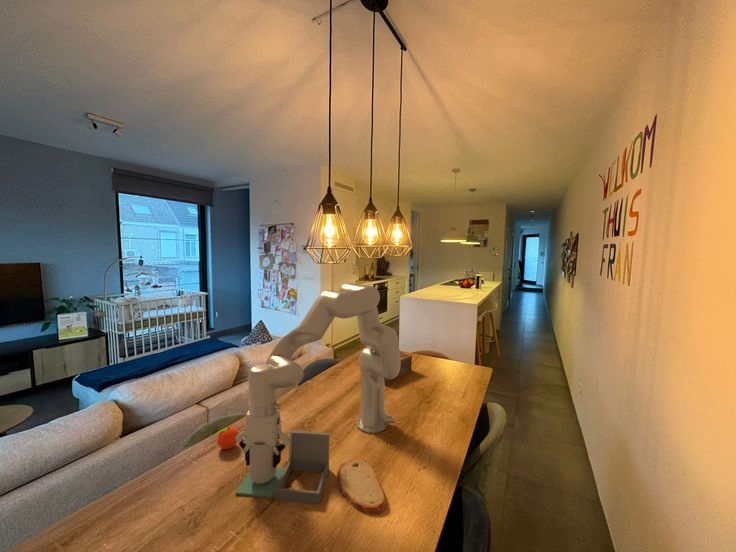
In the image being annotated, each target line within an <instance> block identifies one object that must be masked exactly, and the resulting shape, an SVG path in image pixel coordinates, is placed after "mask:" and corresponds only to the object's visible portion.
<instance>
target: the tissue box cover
mask: <svg viewBox="0 0 736 552" xmlns="http://www.w3.org/2000/svg"><path fill="white" fill-rule="evenodd" d="M400 361H401V366H400V371H399V373H398V375H397V376H396V377H395V378H393V379H386V378H384V381H385V383H388V382H390V381H392V380H395V379H398V378H400V377H403V376H404V375H408V374H410V373H412V365H413V364H412V362H413V356H412V355H410V354H407V353H404V352H402V351H400Z"/></svg>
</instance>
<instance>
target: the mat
mask: <svg viewBox="0 0 736 552" xmlns="http://www.w3.org/2000/svg"><path fill="white" fill-rule="evenodd" d="M285 468H286V467H278V466H277V467H276V474H275V475H274V477H273V478H272V479H271V480H269V481H268V482H266V483H262V484H258V483H255V482H253V481H252V480H251V479H250V470H249V471H248V472H247V474H246V475H245V477H244V479H243V480H242V481H241V483H240V484H239V487H238V488H237V489H236V491H235V495H237V496H246V497H248V496H249V497H260V498H261V497H262V498H273V499H274V498H275V488H276V486H277V484H278V482H279V480H280V478H281V476H282V474H283V472H284V470H285Z"/></svg>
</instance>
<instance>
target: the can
mask: <svg viewBox="0 0 736 552" xmlns="http://www.w3.org/2000/svg"><path fill="white" fill-rule="evenodd" d="M252 444H253V445H252V446H249V451H250V464H249V471H250V479H251V480H252V481H253V482H255V483H258V484H262V483H266V482H268V481H269V480H271V479H272V478H273V477H274V475H275V474H276V468H274V467H273V455H274V453H275V452H274V451H273V448H272V447H268V446H267V444H264V445H256V444H254V443H252Z"/></svg>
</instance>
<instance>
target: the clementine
mask: <svg viewBox="0 0 736 552" xmlns="http://www.w3.org/2000/svg"><path fill="white" fill-rule="evenodd" d="M239 433H240V432H239V431H238V429H237V428H235V427H232V426H226V427H224V428H222V429H219V431H217V433H215V434H214V437H213V438H215V437H216V436H217V439H216V441H217V445H218V447H219V448H221V449H223V450H229V449H232V448H234V447H235V446H236V444H237V443H238V442H237V441H236V439H235V437H236V436H237V435H238V434H239ZM217 434H218V435H217Z"/></svg>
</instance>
